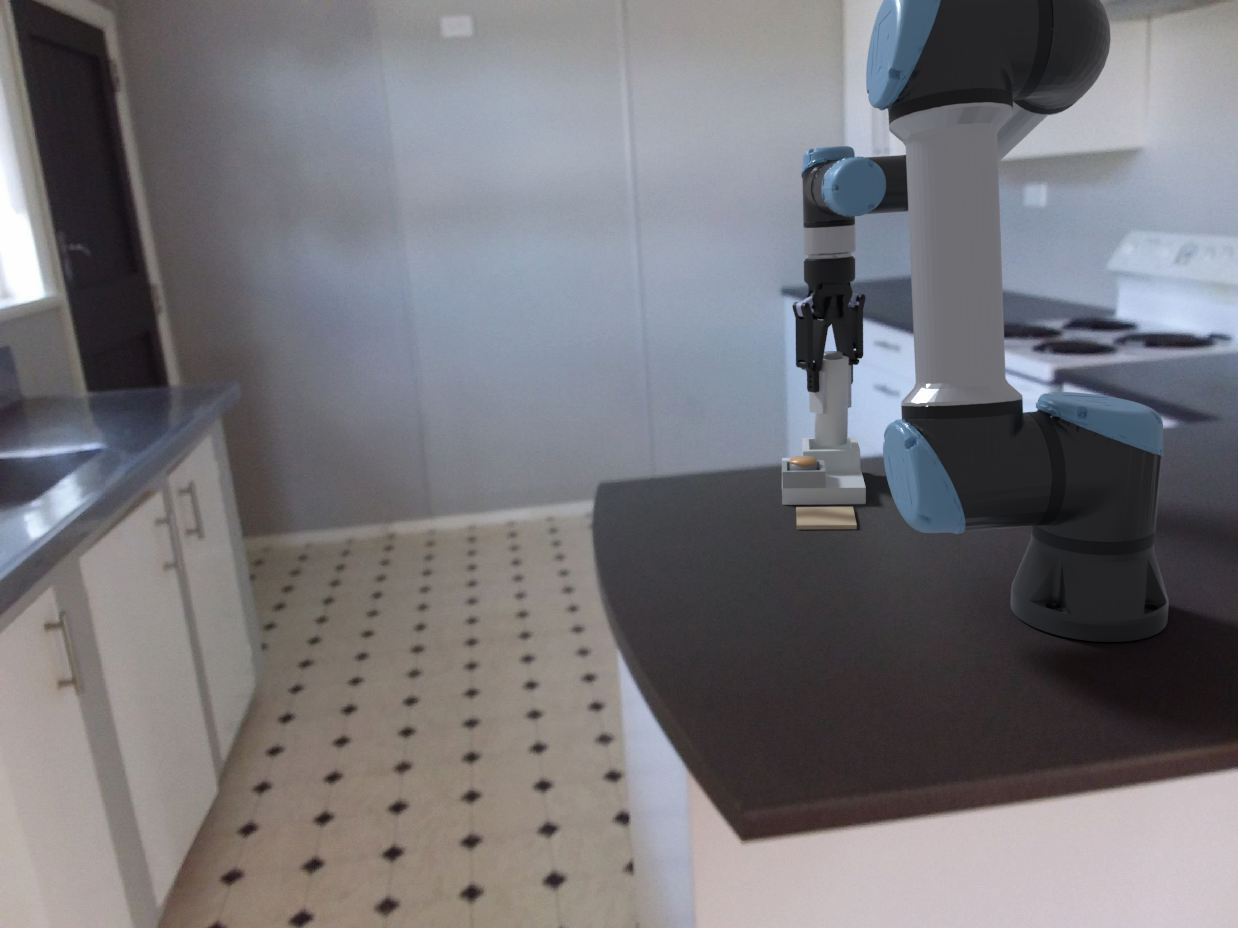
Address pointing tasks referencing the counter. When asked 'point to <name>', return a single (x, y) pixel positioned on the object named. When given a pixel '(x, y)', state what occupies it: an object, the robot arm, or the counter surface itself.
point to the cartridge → (834, 401)
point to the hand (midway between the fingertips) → (830, 409)
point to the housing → (825, 476)
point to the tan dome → (803, 463)
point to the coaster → (825, 518)
